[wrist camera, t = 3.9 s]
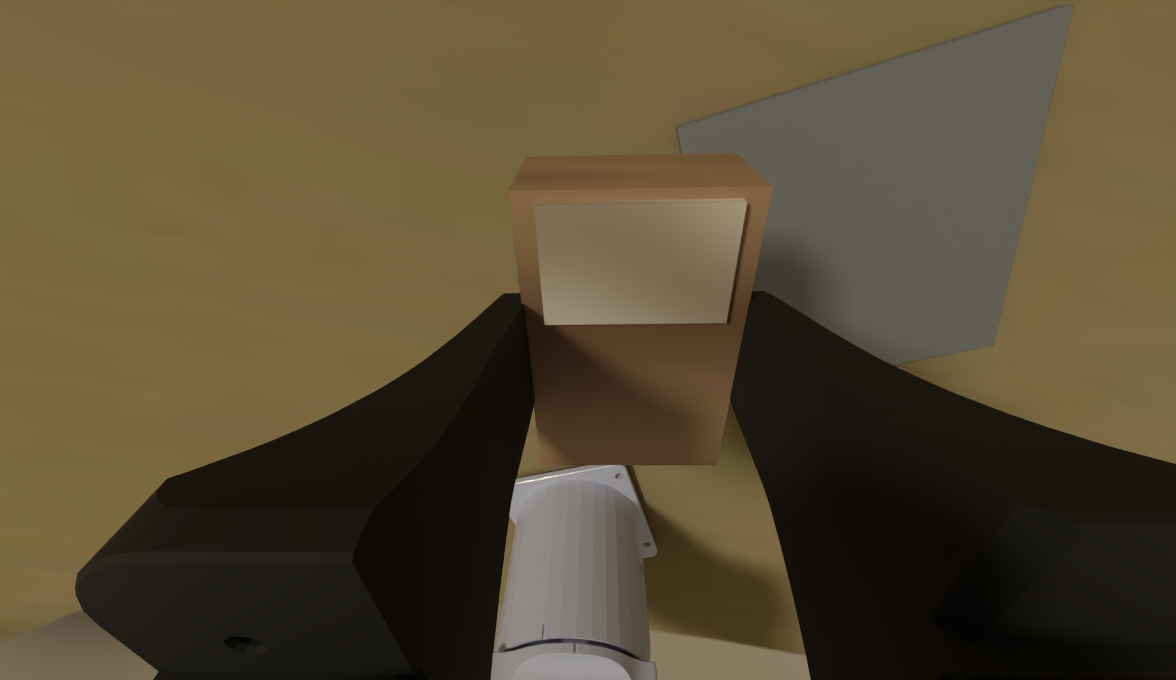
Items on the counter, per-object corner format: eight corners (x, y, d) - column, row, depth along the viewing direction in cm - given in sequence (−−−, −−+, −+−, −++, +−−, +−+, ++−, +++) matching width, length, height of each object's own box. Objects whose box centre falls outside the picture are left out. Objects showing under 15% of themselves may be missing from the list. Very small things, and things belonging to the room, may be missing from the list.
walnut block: (699, 399, 14) (718, 471, 11) (549, 400, 14) (540, 471, 12) (736, 152, 10) (777, 189, 8) (526, 157, 10) (505, 194, 8)
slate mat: (986, 340, 21) (993, 345, 21) (723, 394, 23) (725, 399, 23) (1062, 4, 14) (1073, 4, 14) (675, 126, 16) (677, 128, 16)
